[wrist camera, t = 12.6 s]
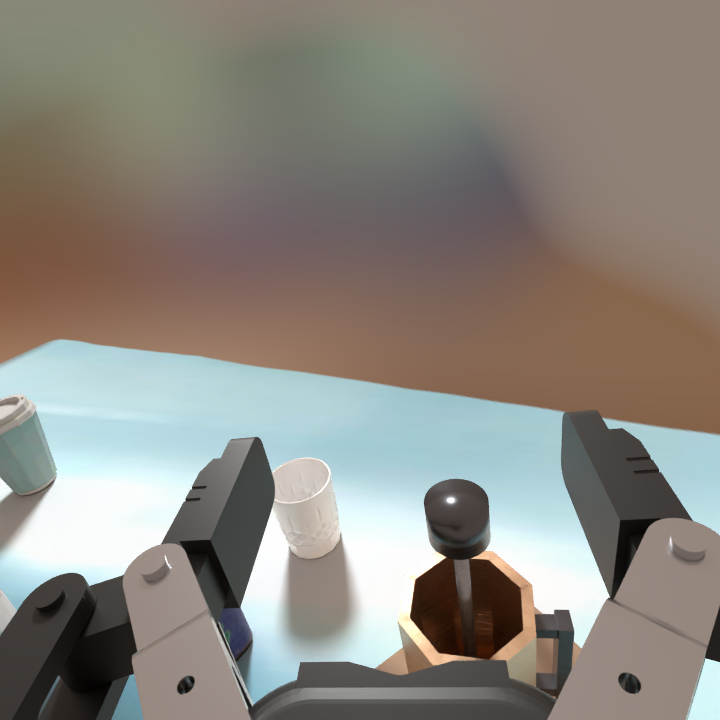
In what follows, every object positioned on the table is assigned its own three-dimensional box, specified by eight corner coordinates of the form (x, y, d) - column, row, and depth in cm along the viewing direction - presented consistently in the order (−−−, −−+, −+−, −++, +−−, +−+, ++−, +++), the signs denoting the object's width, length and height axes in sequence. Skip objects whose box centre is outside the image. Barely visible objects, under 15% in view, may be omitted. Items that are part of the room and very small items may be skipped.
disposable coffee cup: (3, 515, 78) (-50, 440, 71) (0, 482, 86) (-47, 412, 79) (74, 481, 83) (32, 407, 76) (65, 453, 91) (26, 384, 84)
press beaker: (479, 812, 36) (468, 710, 30) (399, 695, 44) (376, 594, 38) (576, 714, 41) (585, 606, 34) (487, 624, 49) (480, 522, 42)
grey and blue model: (246, 625, 54) (216, 559, 49) (260, 643, 52) (231, 575, 47) (167, 692, 49) (125, 626, 44) (179, 714, 47) (137, 648, 42)
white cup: (358, 531, 63) (344, 472, 58) (313, 575, 58) (294, 514, 54) (317, 506, 68) (301, 449, 64) (272, 544, 64) (252, 486, 59)
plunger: (473, 762, 38) (451, 561, 27) (421, 691, 43) (385, 498, 32) (531, 707, 41) (531, 504, 30) (476, 646, 46) (459, 454, 35)
